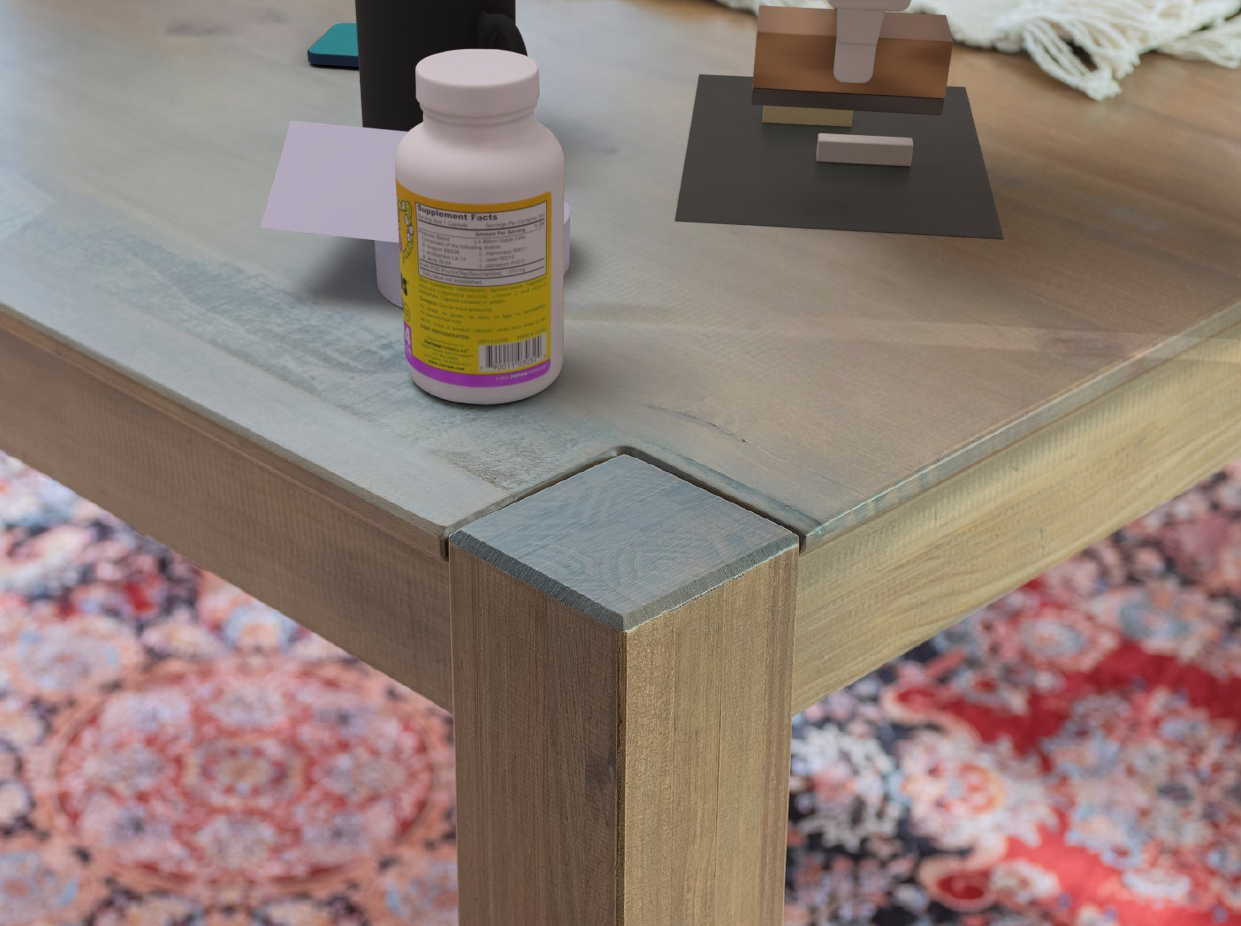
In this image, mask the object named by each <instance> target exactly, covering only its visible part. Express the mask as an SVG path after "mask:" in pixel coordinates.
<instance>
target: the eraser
mask: <svg viewBox="0 0 1241 926" xmlns="http://www.w3.org/2000/svg"><path fill="white" fill-rule="evenodd" d="M757 11H758V13H757V24H756V35H755V46H754V47H755V48H754V61H753V70H752V72H753V73H752V77H753V83H752V96H751V104H752V105H765V106H782V107H800V108H818V109H835V110H853V111H870V112H888V113H906V114H923V115H942V114H943V107H944V101H945V100H944V98H945V94H946V87H947V86H948V80H949V72H950V67H951V60H952V54H953V47H954V41H953V36H952V33H951V28H950V24H949V22H948V21H949V20H948V16H947V15H946V14H935V13H933V14H932V13H915V12H914V13H913V12H888V11H886V12H885V15H884V19H883V23H882V27H881V30H880V34H879V38H878V42H877V45H876V53H875V61H874V69H873V75H872V77H871V79H870V80H869V81H867V82H865V83H849V82H840V81H838V80H837V79H836V78H835V76H834V73H833V71H834V70H833V64H834V54H835V44H836V35H837V9H833V8H819V7H801V6H799V7H798V6H781V5H780V6H779V5H763V4H762V5H759V6H758V10H757Z"/></svg>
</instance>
